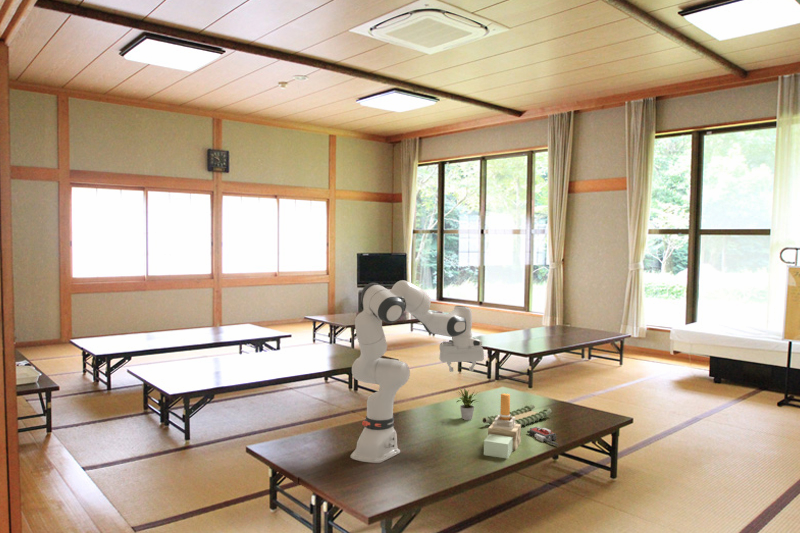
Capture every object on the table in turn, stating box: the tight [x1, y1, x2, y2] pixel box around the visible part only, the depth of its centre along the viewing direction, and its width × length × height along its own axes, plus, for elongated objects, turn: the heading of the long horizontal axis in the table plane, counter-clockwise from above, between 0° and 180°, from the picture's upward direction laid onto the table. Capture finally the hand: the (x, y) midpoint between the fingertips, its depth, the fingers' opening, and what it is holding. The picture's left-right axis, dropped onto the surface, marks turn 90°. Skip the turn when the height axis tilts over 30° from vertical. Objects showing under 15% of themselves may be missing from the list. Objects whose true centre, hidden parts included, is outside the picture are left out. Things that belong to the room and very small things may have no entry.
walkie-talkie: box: [526, 426, 559, 446], centre depth 256 cm, size 9×4×20 cm
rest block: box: [483, 434, 514, 460], centre depth 237 cm, size 10×10×6 cm
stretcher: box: [482, 403, 552, 427], centre depth 282 cm, size 41×14×5 cm, turn 132°
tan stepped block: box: [487, 414, 522, 451], centre depth 248 cm, size 12×12×12 cm
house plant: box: [453, 387, 480, 421], centre depth 286 cm, size 14×14×16 cm
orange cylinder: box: [499, 393, 511, 421], centre depth 248 cm, size 4×4×13 cm
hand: (461, 371), depth 256 cm, fingers open, 8 cm apart
